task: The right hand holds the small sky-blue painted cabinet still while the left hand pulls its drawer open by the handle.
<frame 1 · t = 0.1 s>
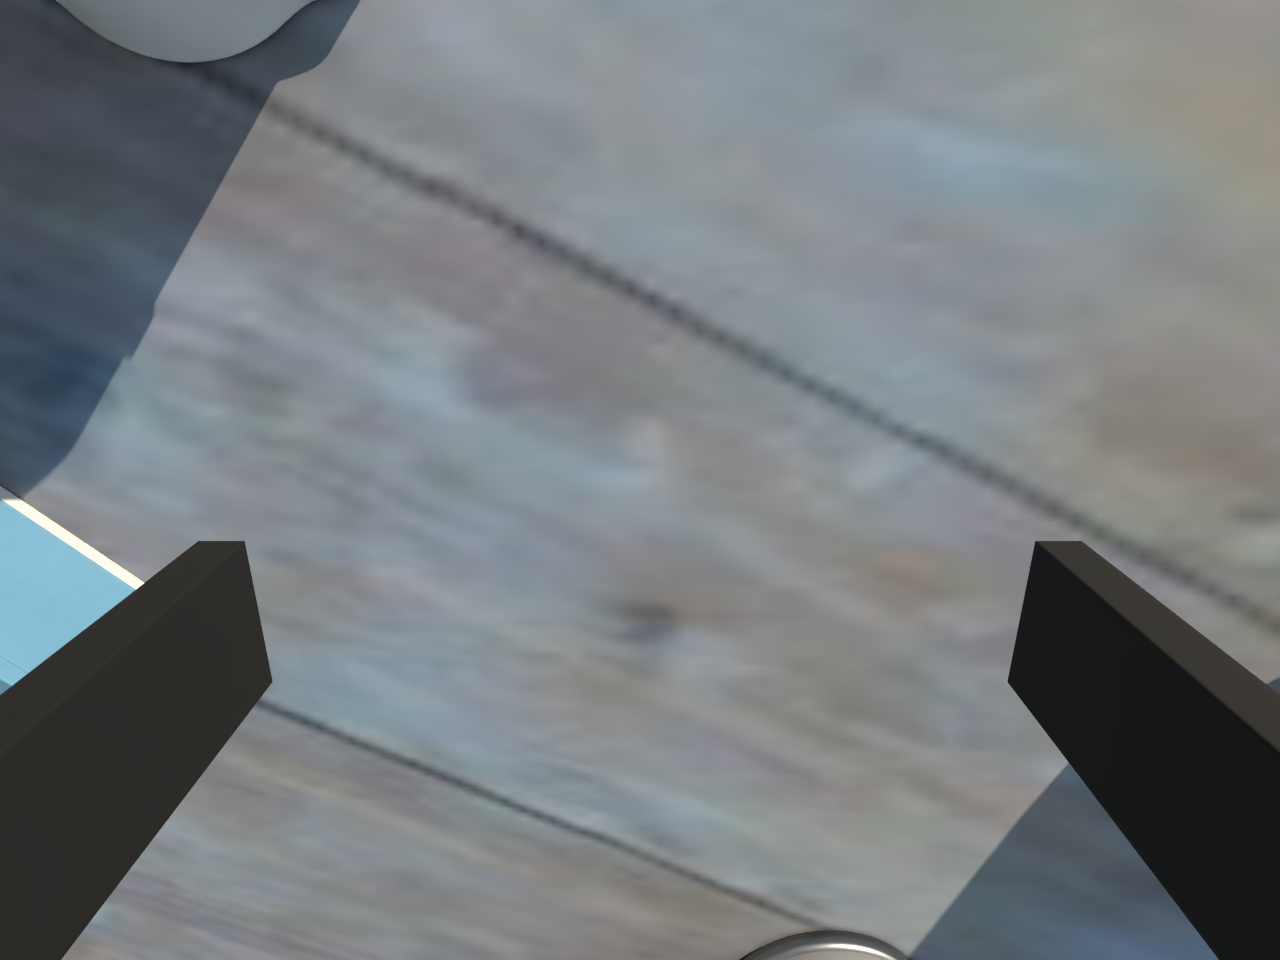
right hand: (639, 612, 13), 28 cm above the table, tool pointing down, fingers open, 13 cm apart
cabinet: (58, 612, 45), on the table
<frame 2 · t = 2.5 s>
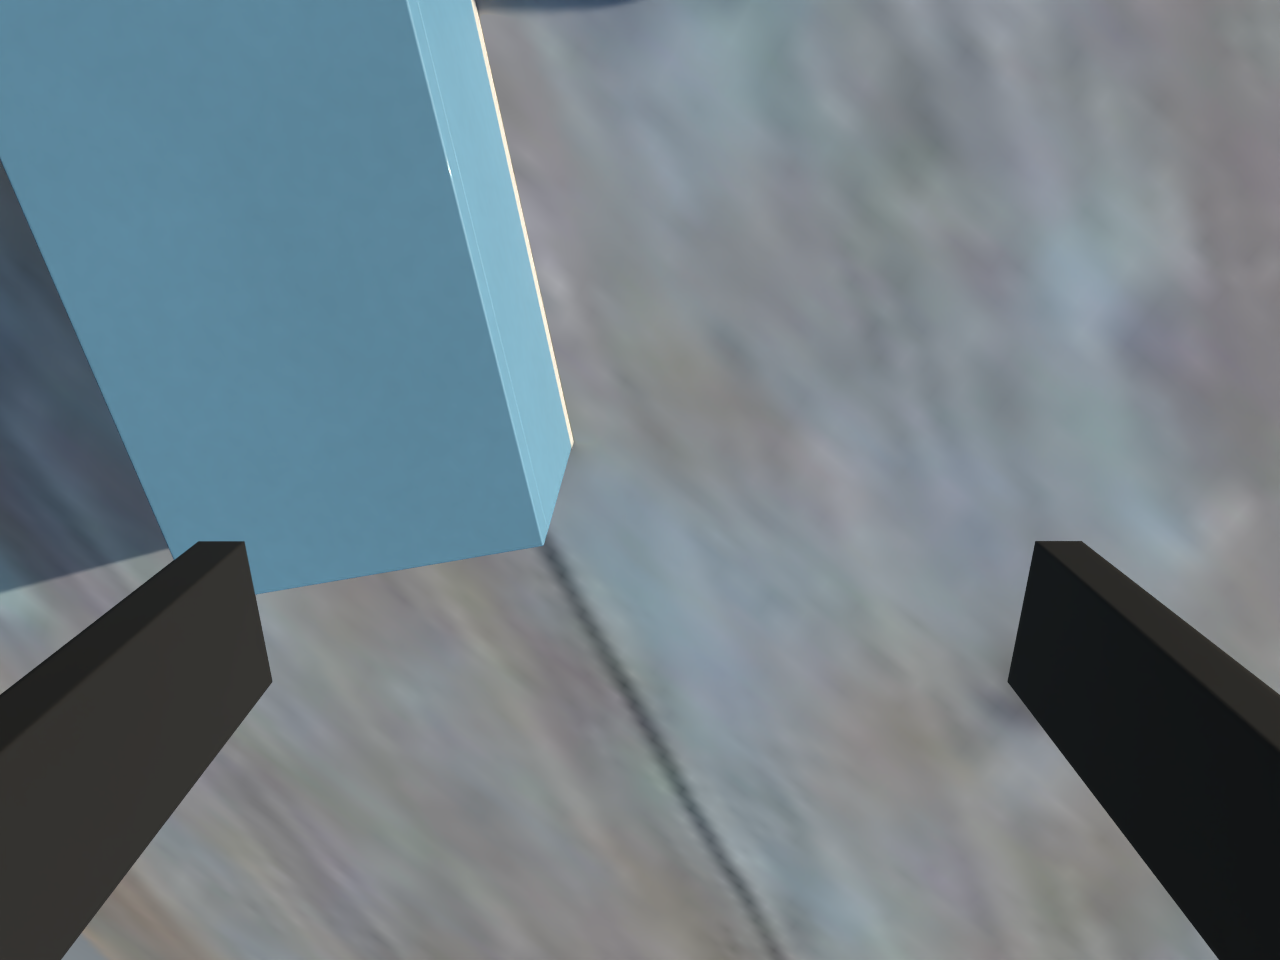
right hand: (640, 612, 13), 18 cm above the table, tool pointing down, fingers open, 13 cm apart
cabinet: (372, 195, 27), on the table
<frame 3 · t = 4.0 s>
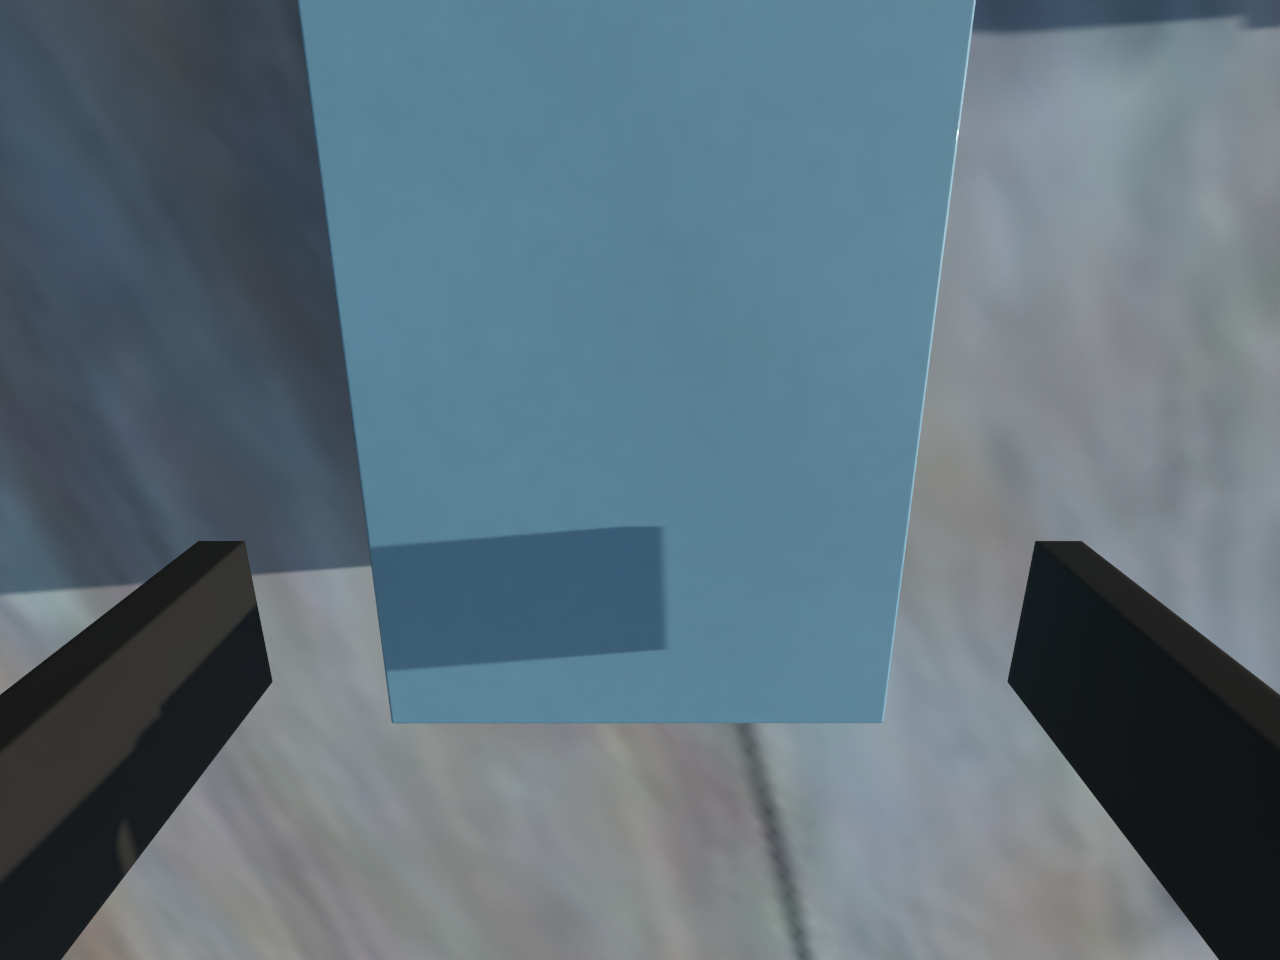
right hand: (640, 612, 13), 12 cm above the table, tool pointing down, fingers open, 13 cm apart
cabinet: (637, 201, 22), on the table
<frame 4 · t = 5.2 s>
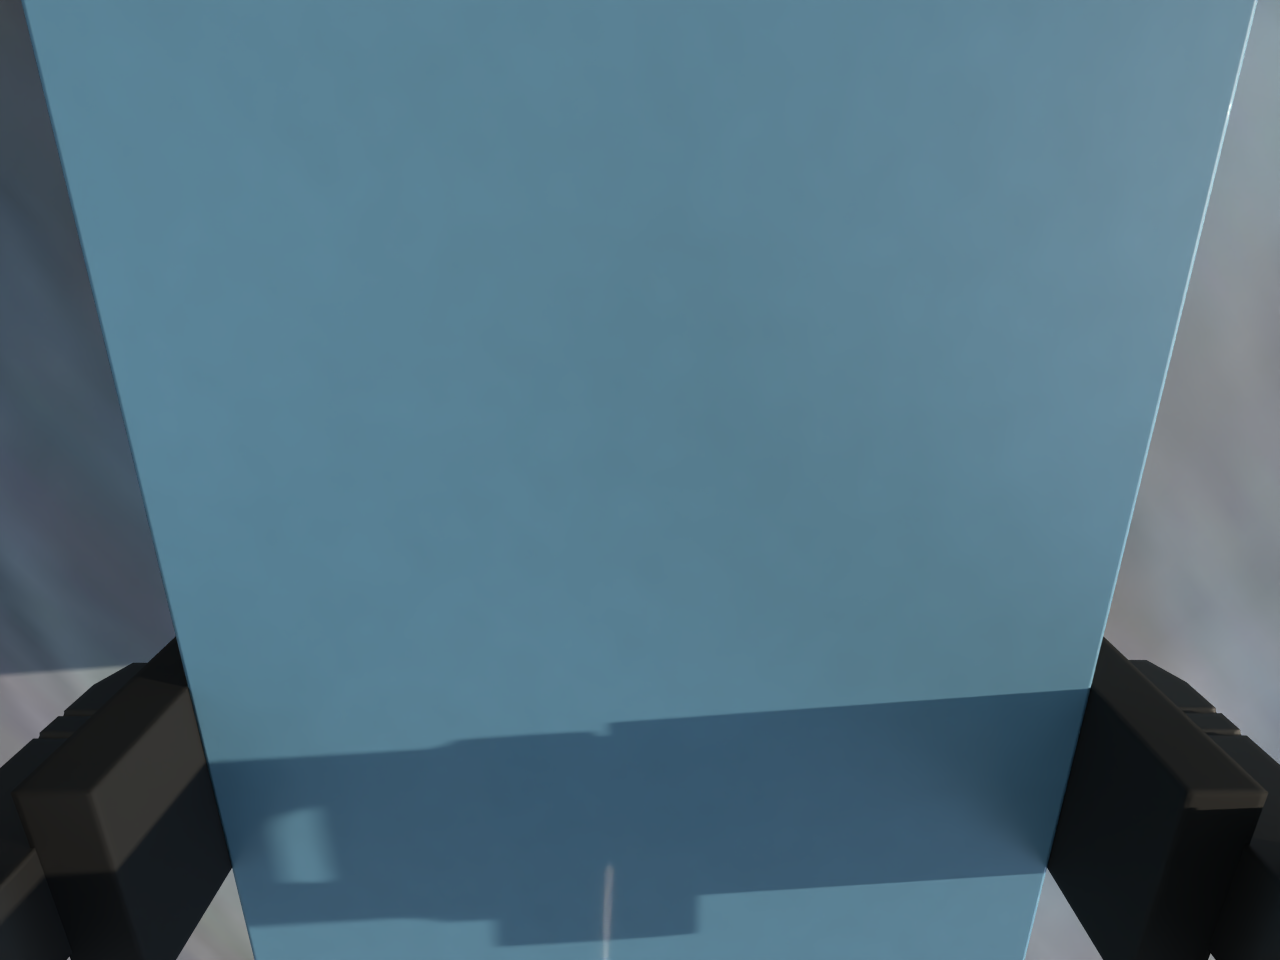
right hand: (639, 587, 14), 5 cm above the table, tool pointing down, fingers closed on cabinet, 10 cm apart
cabinet: (639, 184, 16), on the table, touching right hand
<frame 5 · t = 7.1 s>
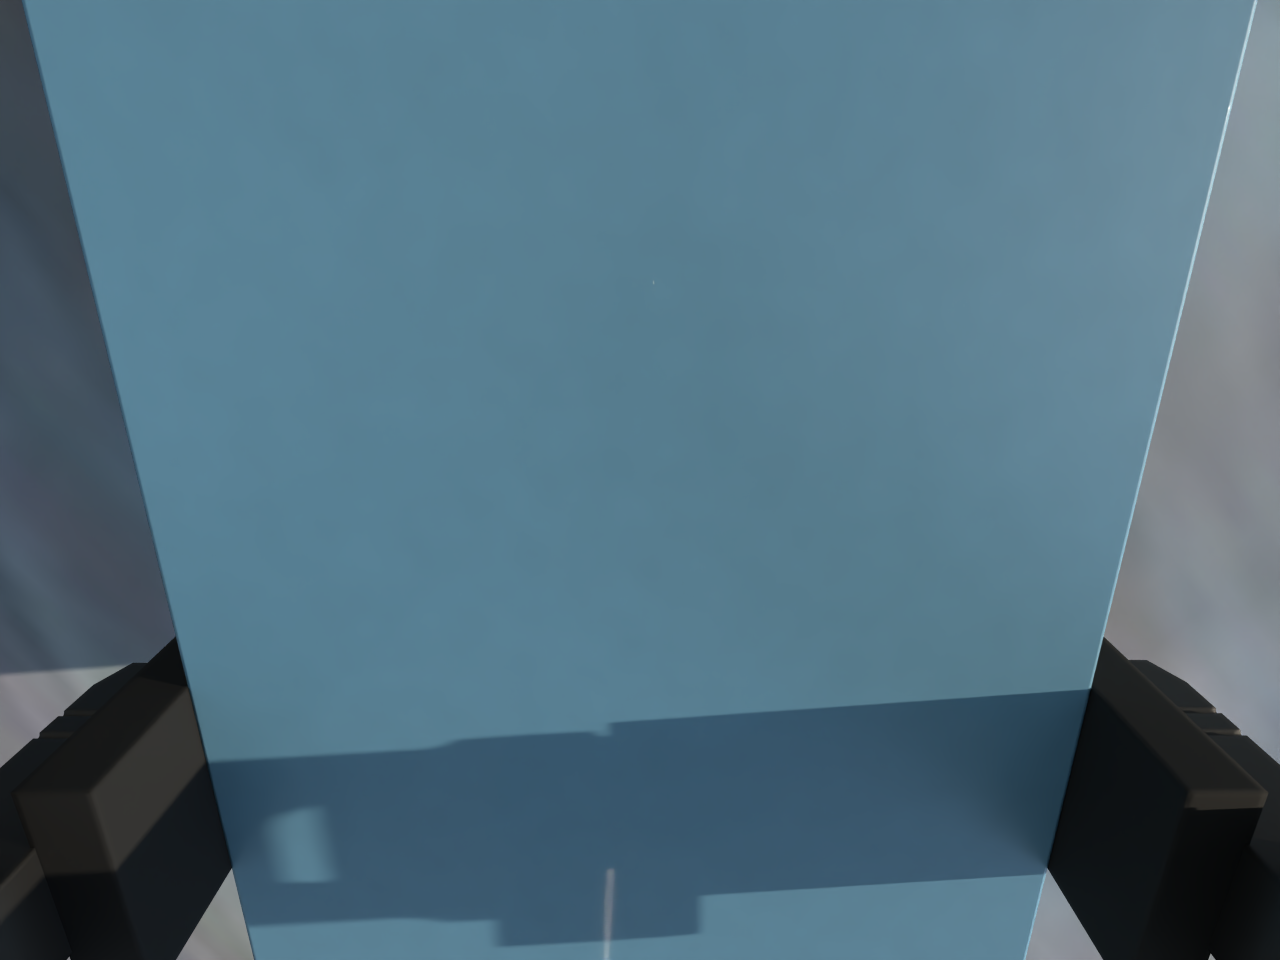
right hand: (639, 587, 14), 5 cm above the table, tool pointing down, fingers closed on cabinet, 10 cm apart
cabinet: (640, 184, 16), on the table, touching right hand
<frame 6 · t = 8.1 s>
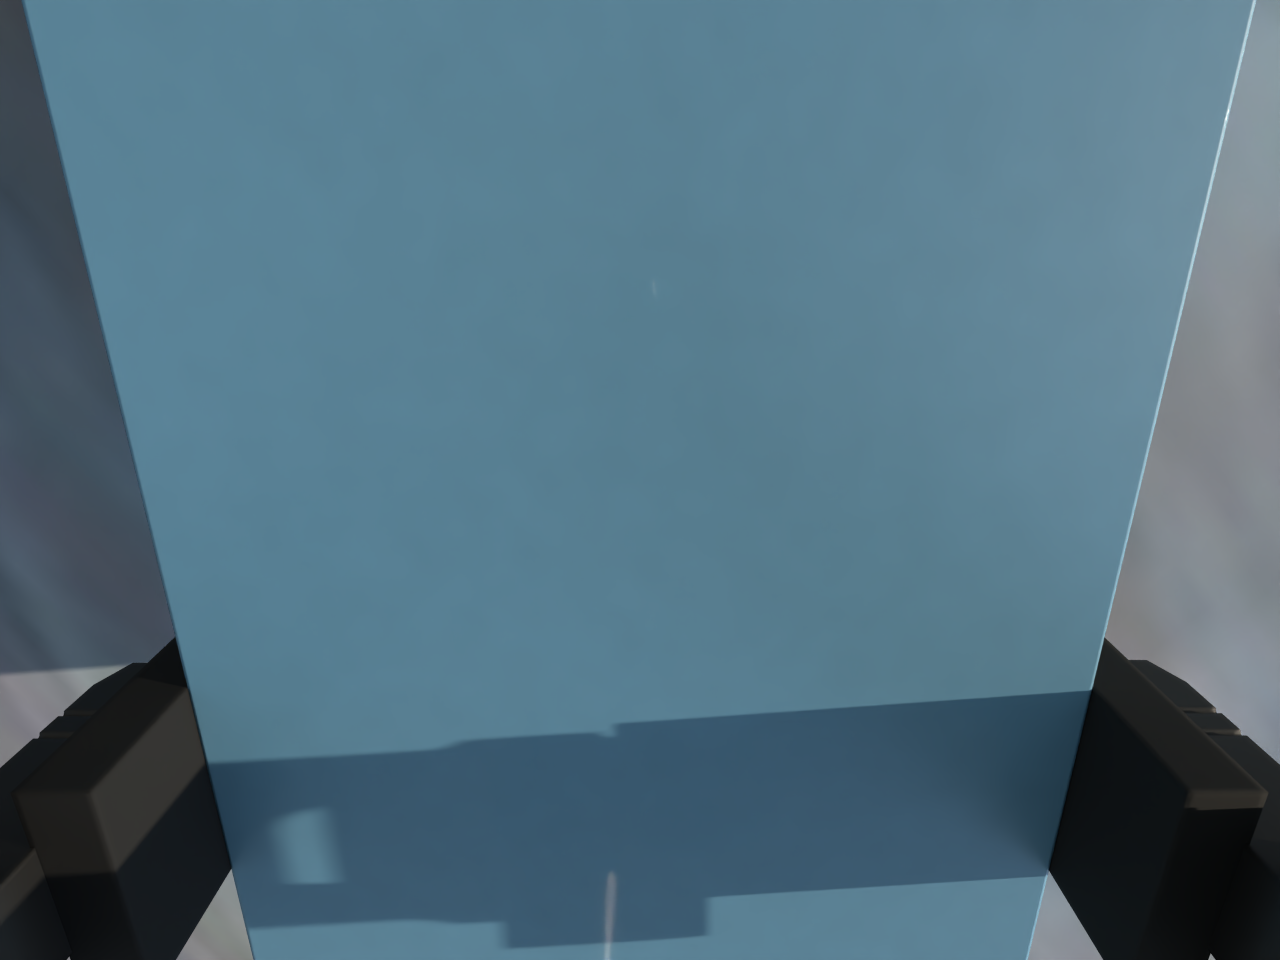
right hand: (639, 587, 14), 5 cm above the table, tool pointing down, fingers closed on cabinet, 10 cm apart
cabinet: (640, 184, 16), on the table, touching right hand
when the right hand's fingers open (5 cm above the table, at t = 9.9 s): cabinet stays where it is, on the table.
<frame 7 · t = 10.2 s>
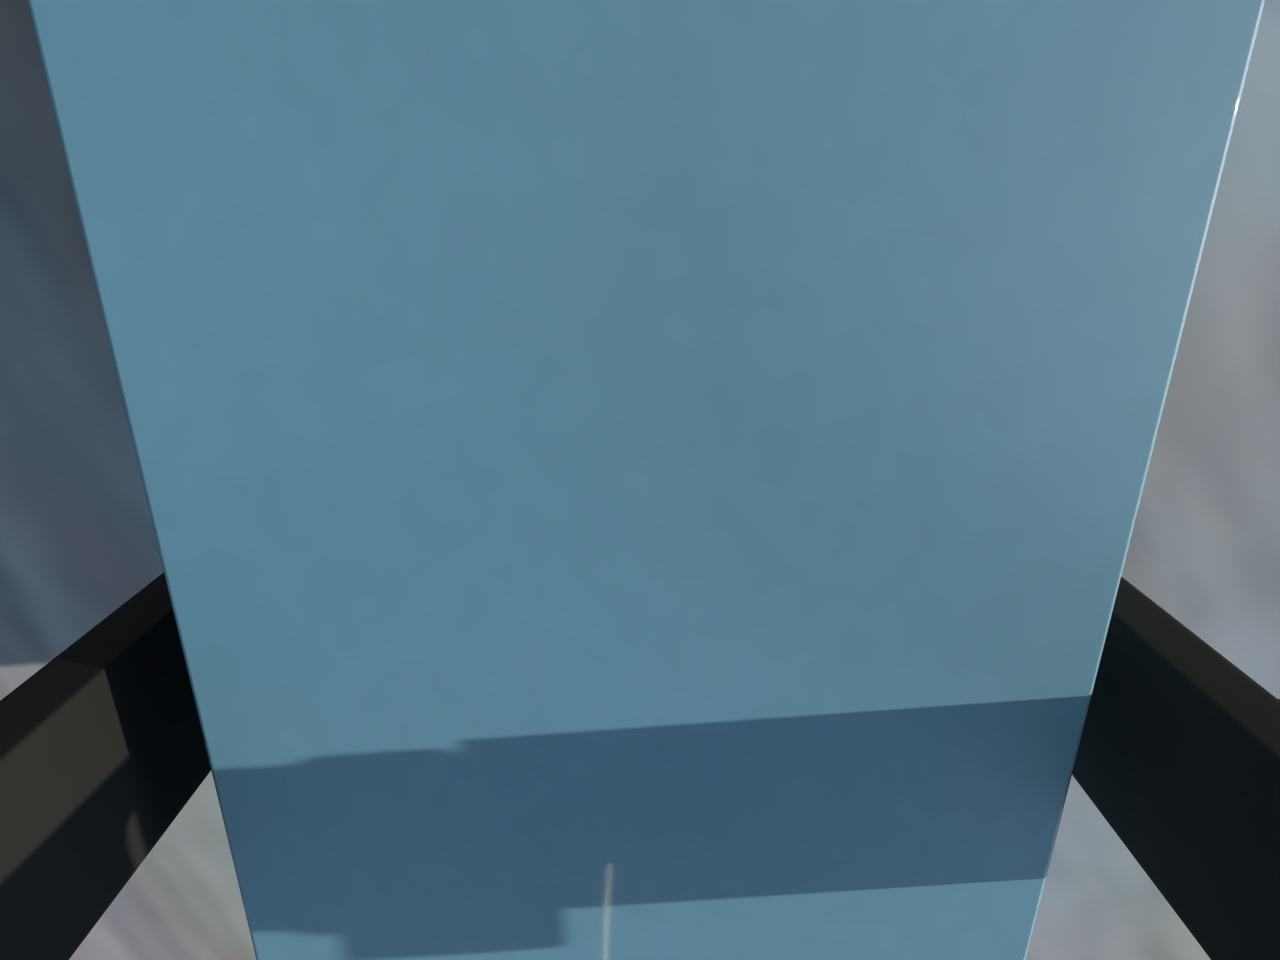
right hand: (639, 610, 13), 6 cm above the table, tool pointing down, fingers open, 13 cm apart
cabinet: (642, 169, 16), on the table
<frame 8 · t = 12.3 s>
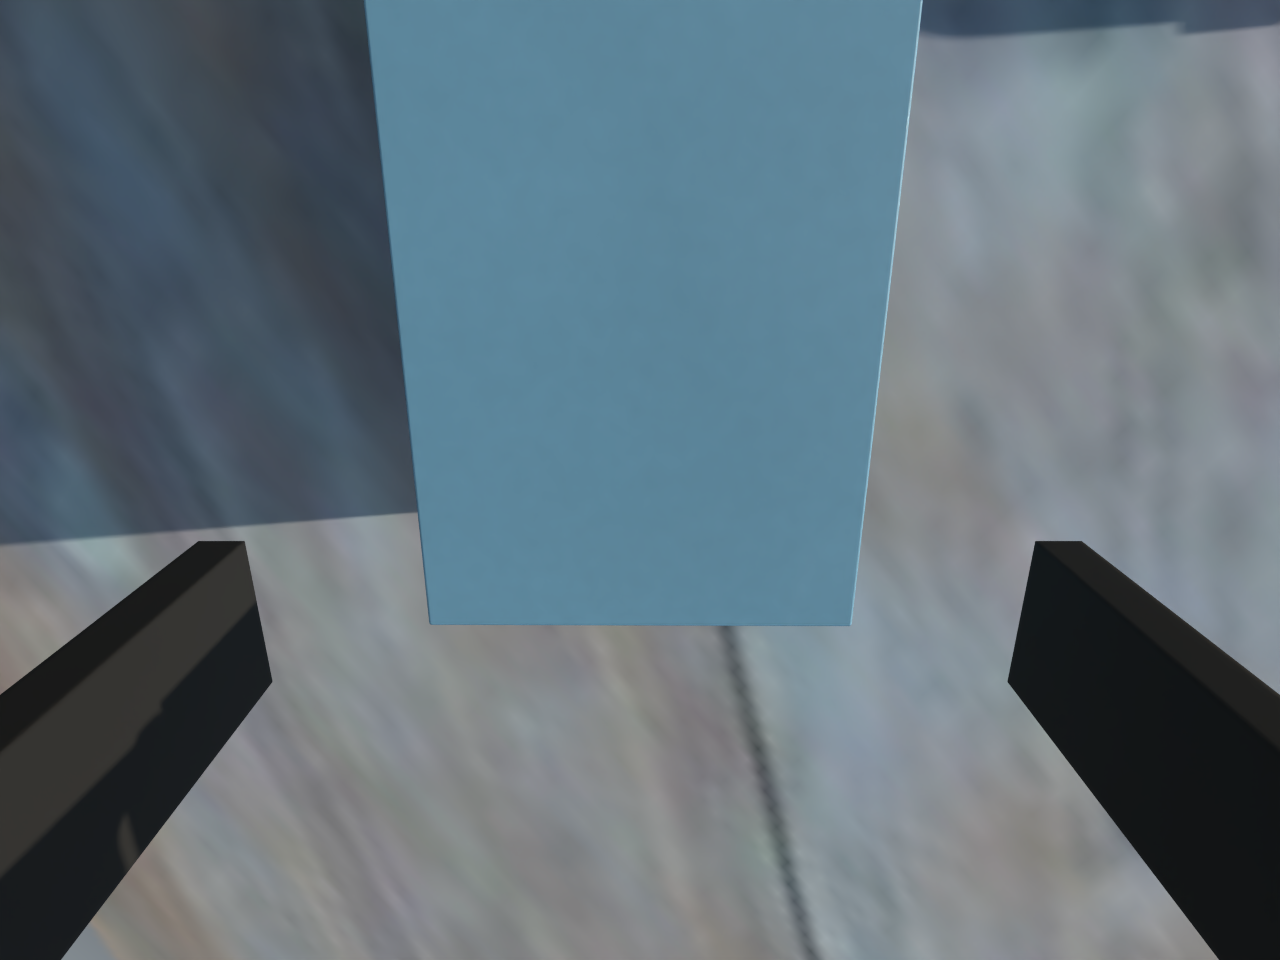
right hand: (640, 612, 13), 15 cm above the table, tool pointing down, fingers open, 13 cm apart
cabinet: (641, 179, 24), on the table
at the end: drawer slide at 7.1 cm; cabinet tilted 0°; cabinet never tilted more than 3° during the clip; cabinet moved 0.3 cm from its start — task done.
